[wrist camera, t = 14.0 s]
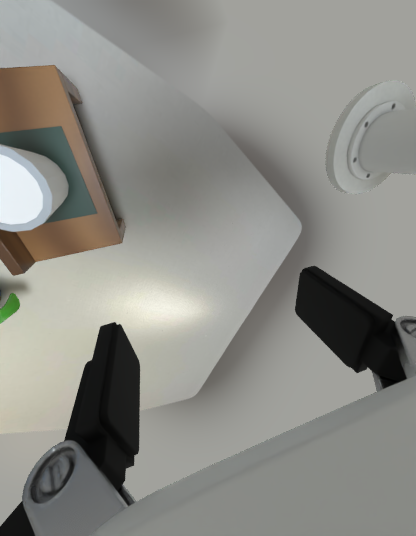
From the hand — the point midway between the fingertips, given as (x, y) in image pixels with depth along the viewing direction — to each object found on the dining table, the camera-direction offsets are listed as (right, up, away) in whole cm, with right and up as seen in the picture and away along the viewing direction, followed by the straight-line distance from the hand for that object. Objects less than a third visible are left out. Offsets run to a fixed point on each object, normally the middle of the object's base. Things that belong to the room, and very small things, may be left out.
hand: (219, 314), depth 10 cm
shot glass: (-19, +12, +12) cm, 26 cm away
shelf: (-21, +16, +18) cm, 32 cm away
